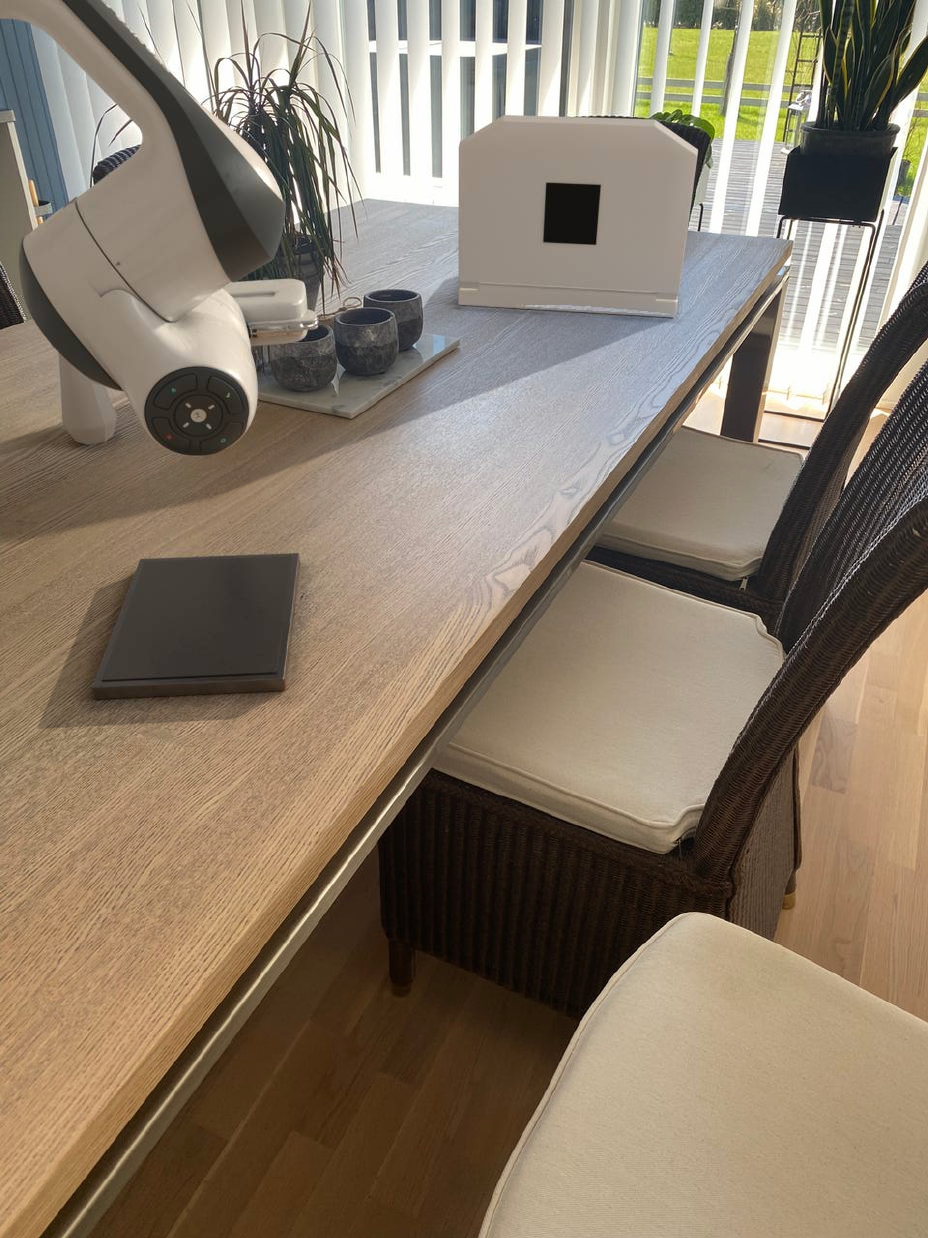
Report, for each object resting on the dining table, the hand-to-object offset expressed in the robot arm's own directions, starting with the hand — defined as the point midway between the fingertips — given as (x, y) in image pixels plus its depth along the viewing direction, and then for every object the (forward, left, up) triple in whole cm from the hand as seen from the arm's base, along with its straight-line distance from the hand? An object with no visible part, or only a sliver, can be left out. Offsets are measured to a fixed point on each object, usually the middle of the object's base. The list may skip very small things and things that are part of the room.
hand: (189, 288), depth 87 cm
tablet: (+2, -26, -20) cm, 33 cm away
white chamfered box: (+48, +65, -20) cm, 84 cm away
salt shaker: (-16, +12, -20) cm, 28 cm away
